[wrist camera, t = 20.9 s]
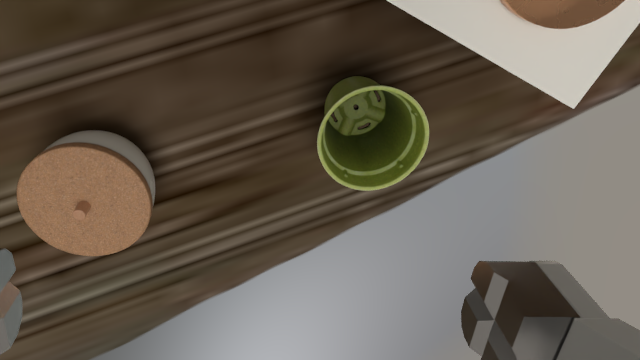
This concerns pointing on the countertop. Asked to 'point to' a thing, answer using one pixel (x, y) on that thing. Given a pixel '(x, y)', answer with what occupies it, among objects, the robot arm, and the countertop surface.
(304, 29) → the countertop surface
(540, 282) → the robot arm
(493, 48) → the slotted white pedestal
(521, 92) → the countertop surface
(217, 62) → the countertop surface
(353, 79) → the plant pot
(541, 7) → the peg
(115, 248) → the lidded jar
